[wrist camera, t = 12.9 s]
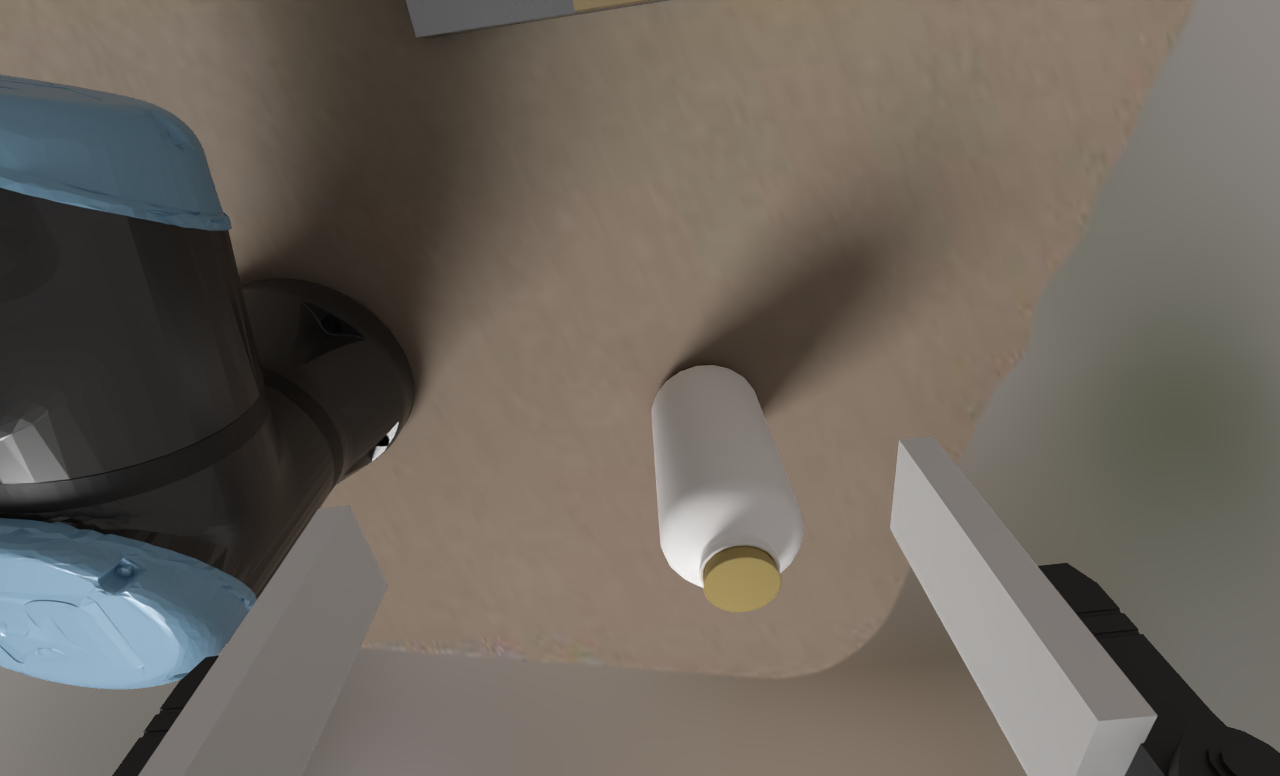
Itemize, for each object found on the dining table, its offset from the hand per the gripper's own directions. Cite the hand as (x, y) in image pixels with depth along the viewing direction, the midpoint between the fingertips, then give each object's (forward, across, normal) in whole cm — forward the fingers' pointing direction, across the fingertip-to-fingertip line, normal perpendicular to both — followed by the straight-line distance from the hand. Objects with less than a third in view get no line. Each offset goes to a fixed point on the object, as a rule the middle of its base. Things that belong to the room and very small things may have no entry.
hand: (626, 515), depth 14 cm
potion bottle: (+29, +4, -15) cm, 33 cm away
